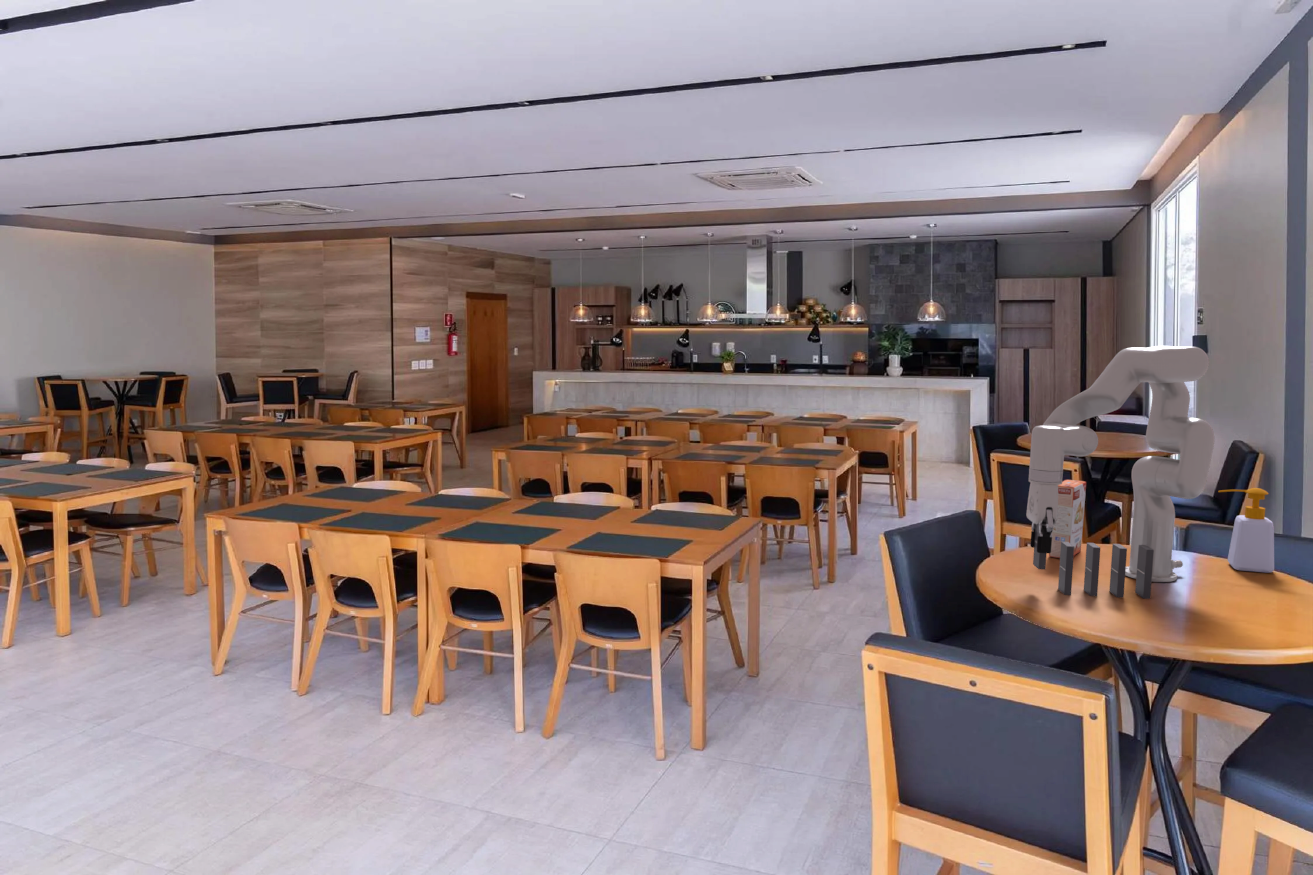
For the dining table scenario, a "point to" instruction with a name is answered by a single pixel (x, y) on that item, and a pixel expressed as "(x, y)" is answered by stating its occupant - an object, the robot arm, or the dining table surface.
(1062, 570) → the domino
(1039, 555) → the domino
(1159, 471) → the robot arm
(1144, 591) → the domino
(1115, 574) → the domino
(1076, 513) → the cracker box
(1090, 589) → the domino
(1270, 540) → the soap bottle
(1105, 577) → the dining table surface
